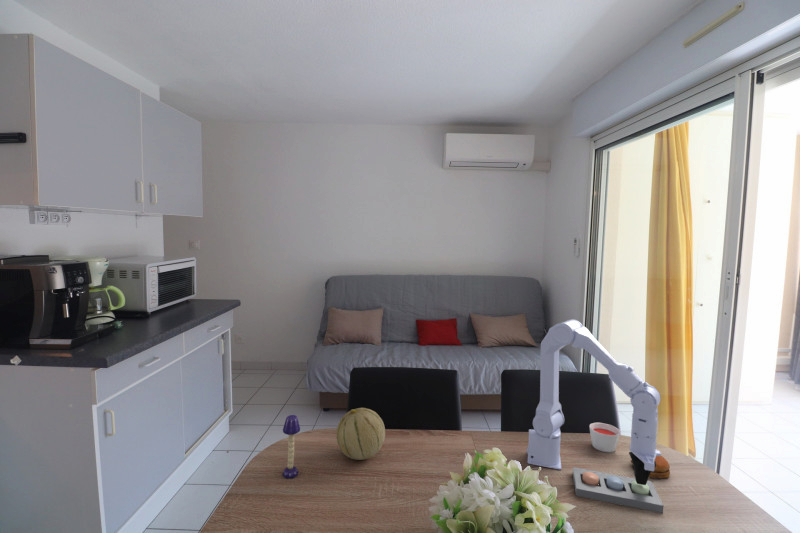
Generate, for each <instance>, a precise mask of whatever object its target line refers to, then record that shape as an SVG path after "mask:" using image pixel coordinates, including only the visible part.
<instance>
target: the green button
mask: <svg viewBox="0 0 800 533" xmlns="http://www.w3.org/2000/svg"><path fill="white" fill-rule="evenodd" d="M631 492H632V493H635V494H640V495H645V496H649V486H648V485H647V484H646V485H641V484H637V482H636V481H633V482H632V486H631Z"/></svg>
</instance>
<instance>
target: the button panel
mask: <svg viewBox="0 0 800 533" xmlns="http://www.w3.org/2000/svg"><path fill="white" fill-rule="evenodd" d="M584 472H592V473H594V474H596V475H597V476H598V477H599V483H598V484H599V485H598V486H594V485H589V484H584V483H583V482H582V477H583V473H584ZM609 476H614V477H617V478H619V479H621V480H622V481H623V482H624V483H623V491H620V490H614V489H609V488H607V486H606V483H607V477H609ZM572 479H573V484H574V491H575V492H574V493H575V496H576V497H579V498H580V497H581V498H586V499H590V500H591V499H592V500H595V501H601V502H606V503H610V504H616V505H621V506H625V507H630V508H634V509H640V510H645V511H650V512H655V513H659V514H664V504H663V502H662V500H661V498H660V496H659V493H658V491H657V489H656V487H655V485H654V483H653V481H651V480H648V481H647V483H646V484H647V485H648V486H649V496H645V495H640V494H635V493H632V491H631V486H632V482H633V481H636V479H635V477H629V476H625V475H624V476H623V475H619V474H614V473H613V474H612V473H608V472H604V471H603V472H602V471H596V470H592V469H587V468H580V467H574V466H572Z"/></svg>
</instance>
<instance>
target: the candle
mask: <svg viewBox="0 0 800 533" xmlns="http://www.w3.org/2000/svg"><path fill="white" fill-rule="evenodd" d="M589 433H590V434H589V435H590V440H591V445H592V447H593V448H594V449H595V450H598V451H600V452H603V453H614V452H615V451H616V449H617V446H618V442H619V440H620V439H619V438H620V435H621V431H620V429H619V428H617V427H616V426H614V425H612V424H608V423H603V422H593V423H590V424H589Z"/></svg>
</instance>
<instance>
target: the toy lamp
mask: <svg viewBox="0 0 800 533" xmlns="http://www.w3.org/2000/svg"><path fill="white" fill-rule="evenodd" d="M300 426H301V425H300V422H299V418H298V416H297V415H296V414H295V415H294V414H289V415H288V416H286V418H285V422H284V423H283V428H282V433H283V434H285V435H288V439H287V440H288V443H287V445H288V449H287V452H288V453H287V464H286V465H287V467H286V468H284V470H283V471H282V477H283V478H285V479H294V478H296V477H297V476H298V475H299V469H298V468H297V467H296V466H294V461H295V443H296V442H295V439H296V438H295V437H296V436H295V435H296V434H298V433H299V432H300V431H301V427H300Z"/></svg>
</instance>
